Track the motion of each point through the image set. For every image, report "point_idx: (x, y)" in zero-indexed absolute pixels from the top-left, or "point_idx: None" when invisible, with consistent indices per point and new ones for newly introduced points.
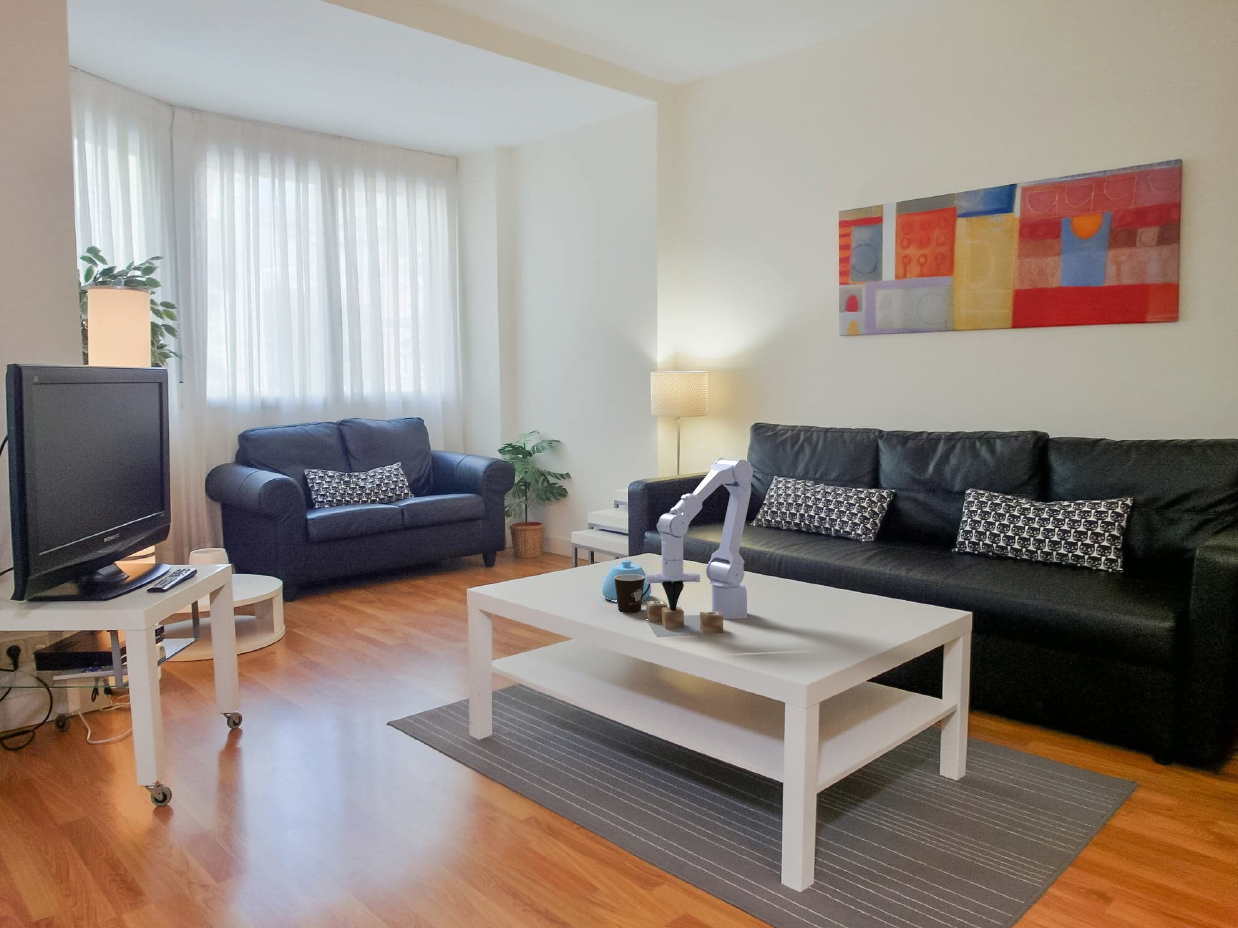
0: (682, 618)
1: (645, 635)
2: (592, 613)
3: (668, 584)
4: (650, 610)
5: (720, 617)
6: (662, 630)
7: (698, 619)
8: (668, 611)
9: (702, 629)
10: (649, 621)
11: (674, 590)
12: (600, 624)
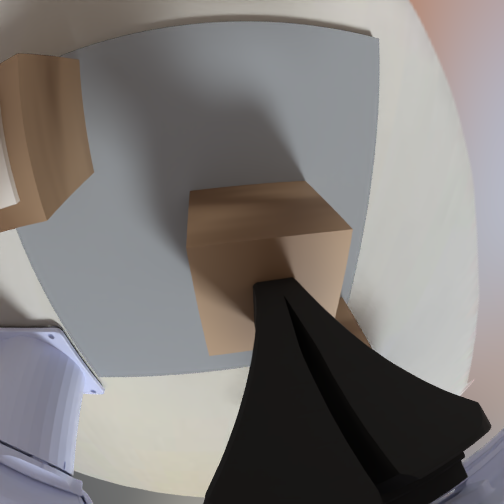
0: (198, 215)
1: (410, 105)
2: (424, 358)
3: (417, 481)
4: (359, 336)
5: None
6: (327, 148)
7: (119, 332)
8: (322, 245)
9: (77, 106)
10: (343, 299)
11: (331, 440)
12: (463, 275)
